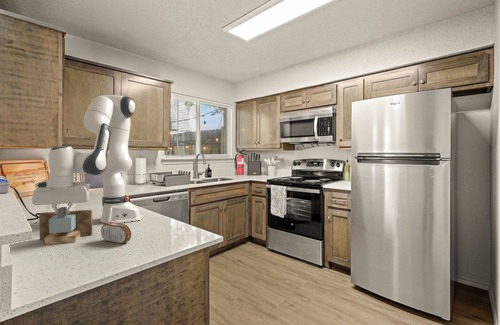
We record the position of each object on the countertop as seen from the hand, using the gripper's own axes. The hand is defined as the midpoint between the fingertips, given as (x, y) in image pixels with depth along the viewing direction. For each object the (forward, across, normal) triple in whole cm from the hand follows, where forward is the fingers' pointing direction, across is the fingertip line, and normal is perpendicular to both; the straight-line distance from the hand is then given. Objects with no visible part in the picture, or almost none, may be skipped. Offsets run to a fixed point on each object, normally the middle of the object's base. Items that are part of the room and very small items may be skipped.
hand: (62, 213), depth 110 cm
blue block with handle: (+7, 0, 0) cm, 7 cm away
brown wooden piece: (+12, 0, -1) cm, 12 cm away
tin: (+13, -22, +9) cm, 27 cm away
